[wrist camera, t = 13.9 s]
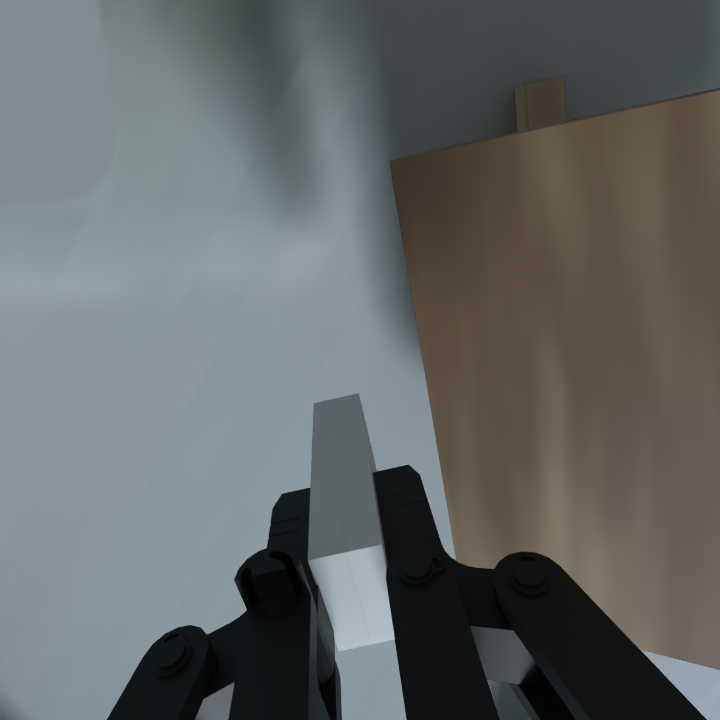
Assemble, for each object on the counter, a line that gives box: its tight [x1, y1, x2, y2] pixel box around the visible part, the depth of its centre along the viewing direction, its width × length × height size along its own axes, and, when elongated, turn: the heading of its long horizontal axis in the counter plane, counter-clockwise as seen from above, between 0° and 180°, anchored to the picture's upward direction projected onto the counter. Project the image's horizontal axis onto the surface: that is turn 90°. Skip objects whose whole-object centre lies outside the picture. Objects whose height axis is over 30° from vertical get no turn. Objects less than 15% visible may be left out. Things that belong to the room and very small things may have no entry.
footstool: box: [389, 88, 720, 670], centre depth 15 cm, size 10×16×16 cm
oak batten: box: [515, 75, 566, 132], centre depth 22 cm, size 2×19×1 cm, turn 12°
